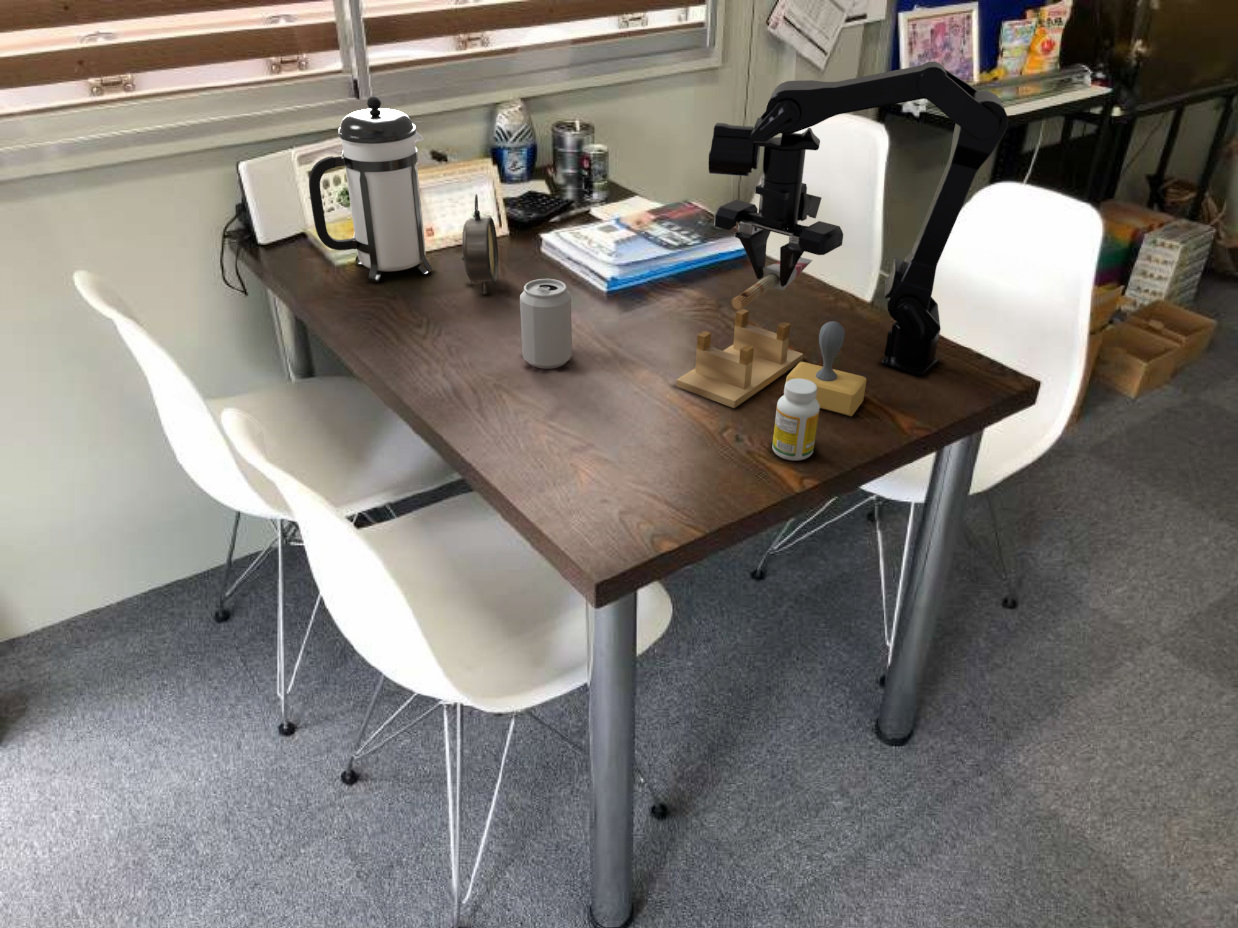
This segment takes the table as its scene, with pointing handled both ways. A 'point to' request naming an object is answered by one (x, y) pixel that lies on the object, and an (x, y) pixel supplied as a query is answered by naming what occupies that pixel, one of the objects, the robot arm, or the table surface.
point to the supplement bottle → (796, 420)
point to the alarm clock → (480, 249)
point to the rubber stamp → (832, 375)
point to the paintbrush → (768, 282)
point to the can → (546, 323)
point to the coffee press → (377, 190)
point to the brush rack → (740, 363)
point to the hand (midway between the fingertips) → (771, 282)
